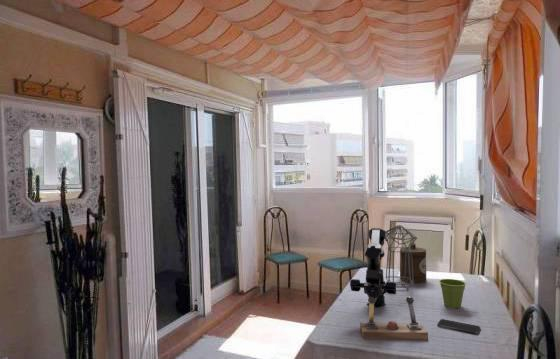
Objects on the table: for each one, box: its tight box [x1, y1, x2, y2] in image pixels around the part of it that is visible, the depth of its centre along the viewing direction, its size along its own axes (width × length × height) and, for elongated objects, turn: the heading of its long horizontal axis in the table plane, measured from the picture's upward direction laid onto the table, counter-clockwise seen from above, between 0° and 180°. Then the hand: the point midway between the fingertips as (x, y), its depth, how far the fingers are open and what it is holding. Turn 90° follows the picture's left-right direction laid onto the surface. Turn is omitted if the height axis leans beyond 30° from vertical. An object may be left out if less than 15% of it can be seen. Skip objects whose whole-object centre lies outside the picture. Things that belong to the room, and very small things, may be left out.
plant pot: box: [438, 278, 467, 309], centre depth 176 cm, size 12×12×11 cm
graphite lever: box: [405, 296, 419, 325], centre depth 147 cm, size 3×3×11 cm
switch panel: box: [359, 320, 429, 340], centre depth 146 cm, size 9×24×4 cm, turn 86°
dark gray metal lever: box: [367, 296, 376, 325], centre depth 148 cm, size 3×3×11 cm
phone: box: [436, 318, 481, 336], centre depth 151 cm, size 8×1×15 cm
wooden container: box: [399, 242, 427, 284], centre depth 221 cm, size 15×15×22 cm
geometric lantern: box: [384, 224, 418, 292], centre depth 203 cm, size 16×16×35 cm
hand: (372, 305), depth 152 cm, fingers closed
